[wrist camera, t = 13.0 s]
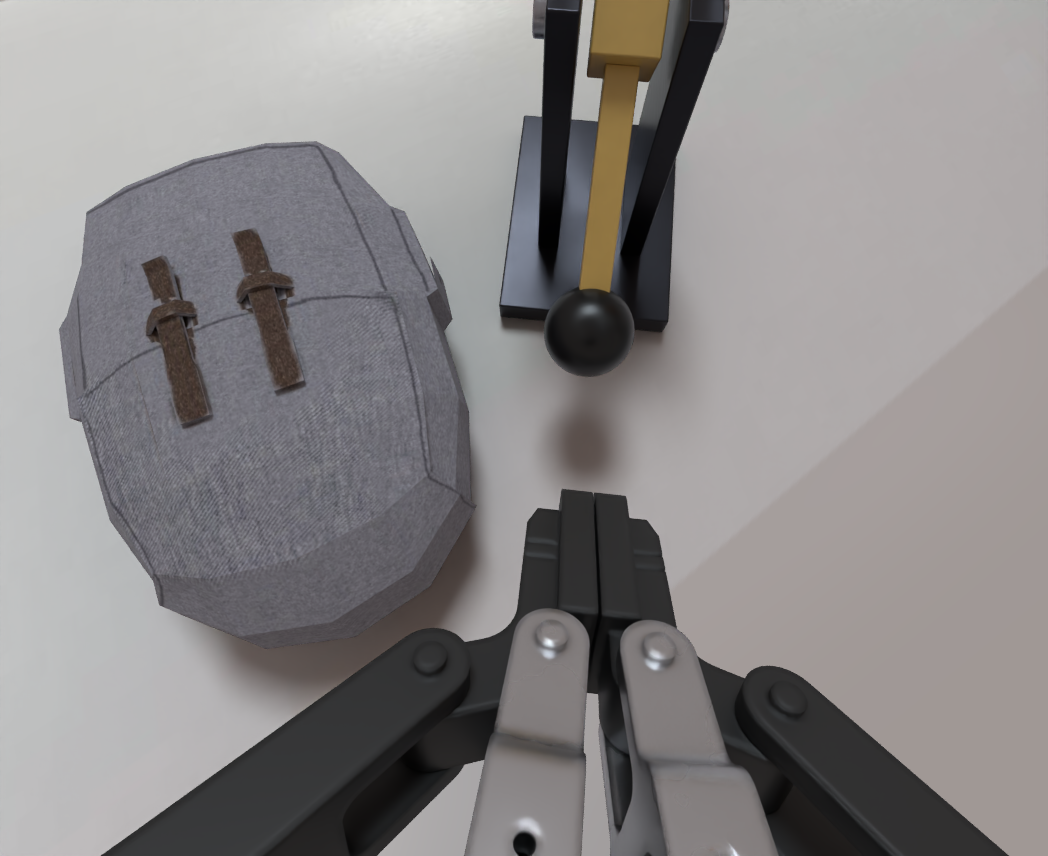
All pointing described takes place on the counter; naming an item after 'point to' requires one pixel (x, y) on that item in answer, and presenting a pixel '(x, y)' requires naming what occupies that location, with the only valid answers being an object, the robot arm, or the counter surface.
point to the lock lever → (607, 189)
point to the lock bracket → (567, 161)
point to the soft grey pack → (269, 393)
